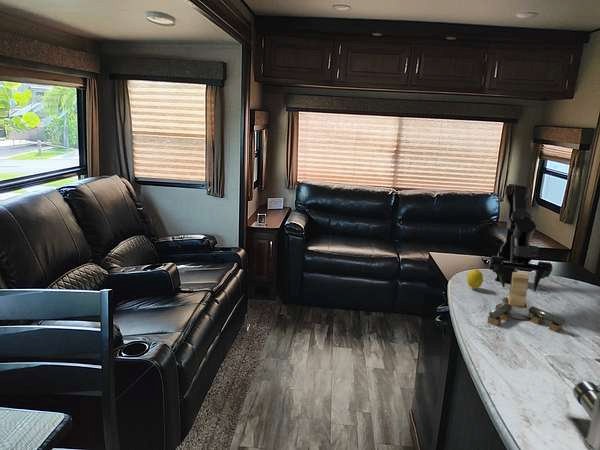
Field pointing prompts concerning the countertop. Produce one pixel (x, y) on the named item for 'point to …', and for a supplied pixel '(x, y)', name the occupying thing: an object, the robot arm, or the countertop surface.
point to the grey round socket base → (517, 310)
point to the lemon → (475, 278)
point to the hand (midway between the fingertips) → (519, 288)
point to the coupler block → (518, 289)
